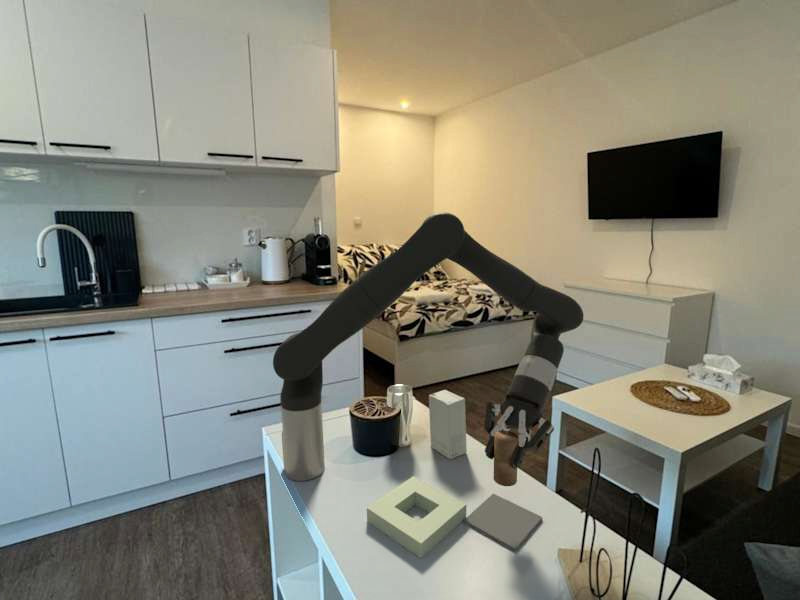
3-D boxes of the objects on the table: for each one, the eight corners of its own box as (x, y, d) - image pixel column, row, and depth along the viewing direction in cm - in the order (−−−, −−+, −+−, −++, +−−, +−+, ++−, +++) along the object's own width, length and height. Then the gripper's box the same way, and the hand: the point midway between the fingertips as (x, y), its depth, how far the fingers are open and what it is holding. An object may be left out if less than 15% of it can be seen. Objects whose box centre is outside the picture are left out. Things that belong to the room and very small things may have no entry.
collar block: (367, 521, 83) (366, 507, 83) (413, 488, 93) (413, 476, 93) (421, 558, 74) (421, 543, 73) (466, 517, 84) (466, 504, 83)
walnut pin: (489, 479, 81) (490, 437, 79) (500, 470, 84) (501, 428, 83) (509, 489, 78) (511, 444, 77) (521, 478, 81) (522, 435, 80)
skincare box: (466, 453, 107) (467, 398, 104) (448, 461, 104) (449, 404, 101) (445, 439, 114) (446, 388, 111) (428, 446, 111) (428, 393, 108)
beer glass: (383, 445, 111) (382, 392, 109) (393, 433, 118) (392, 382, 115) (408, 450, 109) (407, 395, 106) (416, 437, 115) (416, 385, 113)
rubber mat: (464, 522, 83) (464, 519, 82) (493, 495, 90) (493, 493, 90) (515, 551, 75) (515, 548, 75) (542, 519, 83) (542, 516, 83)
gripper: (494, 366, 88) (461, 442, 81) (562, 383, 78) (530, 470, 72) (506, 383, 93) (475, 455, 86) (571, 400, 83) (542, 484, 77)
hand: (500, 461), depth 79 cm, fingers closed on walnut pin, 4 cm apart
